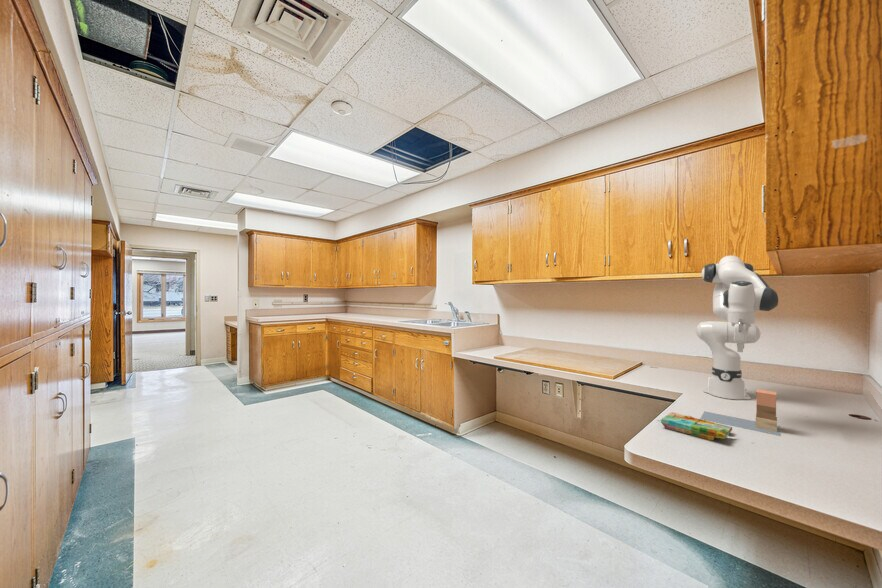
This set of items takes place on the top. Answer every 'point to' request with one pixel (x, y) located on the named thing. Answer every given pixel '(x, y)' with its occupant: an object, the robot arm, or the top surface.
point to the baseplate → (736, 422)
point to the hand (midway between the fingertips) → (740, 350)
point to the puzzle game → (696, 426)
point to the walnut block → (766, 412)
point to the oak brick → (766, 424)
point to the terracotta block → (766, 398)
